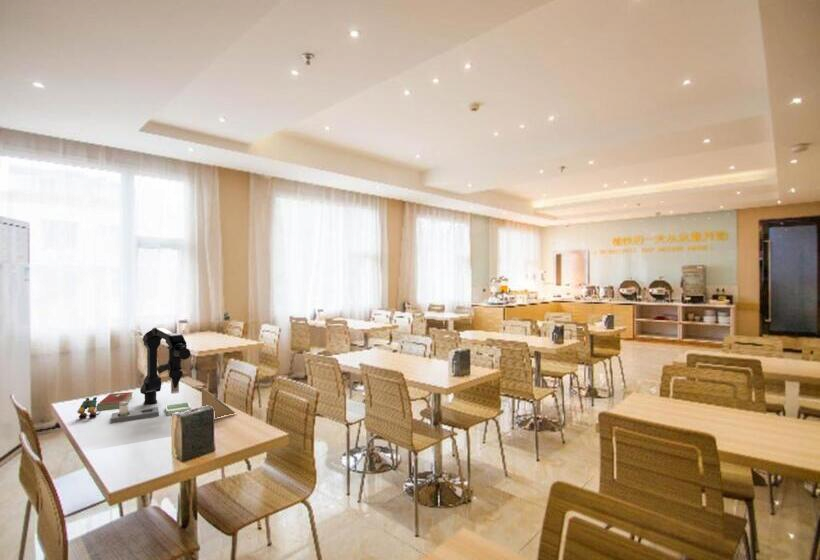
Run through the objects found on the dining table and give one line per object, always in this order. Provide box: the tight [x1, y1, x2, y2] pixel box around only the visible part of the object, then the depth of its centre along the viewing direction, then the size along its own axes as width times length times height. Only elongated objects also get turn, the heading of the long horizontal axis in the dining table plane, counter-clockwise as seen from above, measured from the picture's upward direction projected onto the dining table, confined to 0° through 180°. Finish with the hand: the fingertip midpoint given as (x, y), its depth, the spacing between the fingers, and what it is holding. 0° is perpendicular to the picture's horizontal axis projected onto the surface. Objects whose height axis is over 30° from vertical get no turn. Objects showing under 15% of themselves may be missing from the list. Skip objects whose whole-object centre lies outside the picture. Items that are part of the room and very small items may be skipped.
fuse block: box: [110, 406, 160, 424], centre depth 216 cm, size 10×20×2 cm, turn 123°
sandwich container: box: [201, 388, 236, 418], centre depth 219 cm, size 9×15×15 cm, turn 133°
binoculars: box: [76, 396, 102, 419], centre depth 216 cm, size 9×9×10 cm
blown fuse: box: [170, 378, 180, 395], centre depth 225 cm, size 4×4×8 cm
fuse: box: [118, 401, 129, 416], centre depth 213 cm, size 4×4×8 cm
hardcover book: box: [96, 391, 134, 411], centre depth 239 cm, size 12×21×4 cm, turn 21°
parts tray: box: [164, 401, 192, 416], centre depth 226 cm, size 12×11×2 cm
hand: (175, 387), depth 225 cm, fingers closed on blown fuse, 4 cm apart
